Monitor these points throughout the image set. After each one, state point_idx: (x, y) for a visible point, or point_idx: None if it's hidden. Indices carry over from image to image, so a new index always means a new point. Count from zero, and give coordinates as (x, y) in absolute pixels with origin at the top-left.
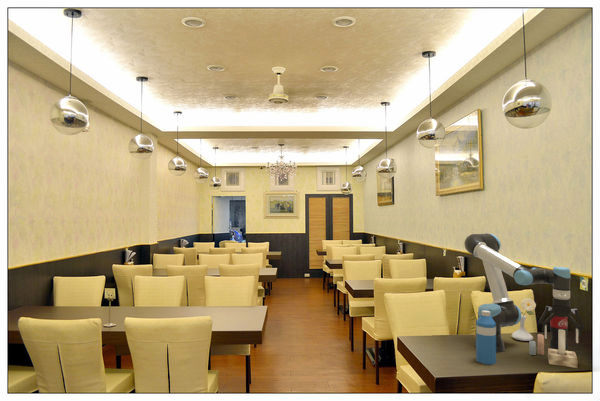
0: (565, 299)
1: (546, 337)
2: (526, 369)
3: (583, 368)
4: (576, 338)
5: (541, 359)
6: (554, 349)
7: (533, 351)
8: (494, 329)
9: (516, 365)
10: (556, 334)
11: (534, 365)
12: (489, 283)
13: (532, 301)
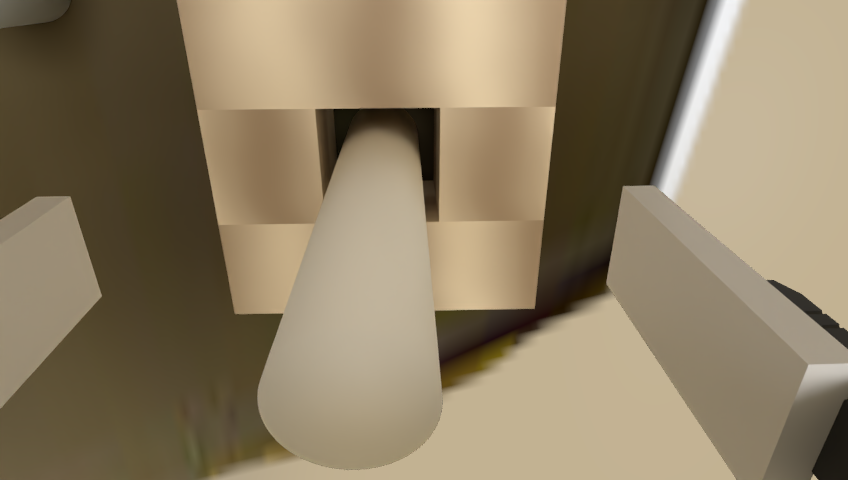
0: None
1: (84, 311)
2: (121, 475)
3: (568, 239)
4: (641, 334)
5: (170, 136)
6: (277, 5)
7: (15, 24)
8: None
9: (24, 427)
10: None
11: (151, 362)
12: None
13: None
